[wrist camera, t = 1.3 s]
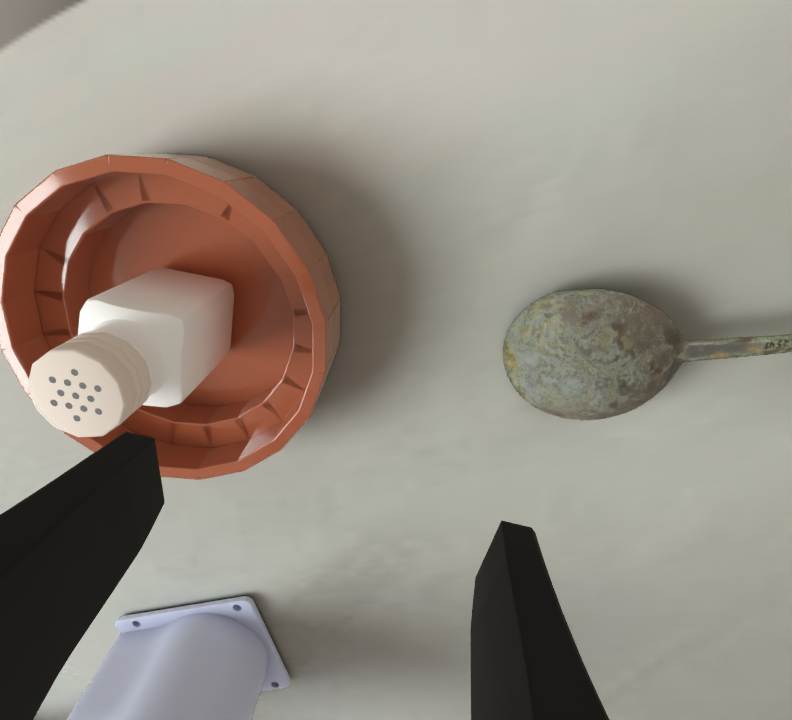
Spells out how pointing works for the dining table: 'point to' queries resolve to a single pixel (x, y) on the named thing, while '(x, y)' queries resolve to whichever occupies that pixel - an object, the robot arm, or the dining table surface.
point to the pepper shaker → (135, 351)
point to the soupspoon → (606, 352)
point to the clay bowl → (189, 252)
